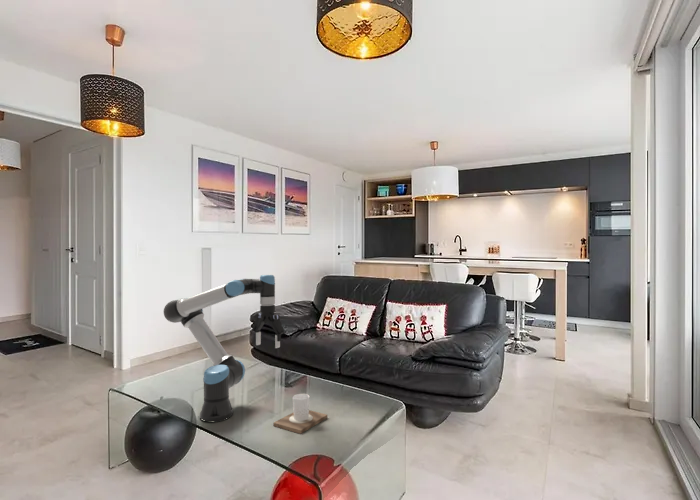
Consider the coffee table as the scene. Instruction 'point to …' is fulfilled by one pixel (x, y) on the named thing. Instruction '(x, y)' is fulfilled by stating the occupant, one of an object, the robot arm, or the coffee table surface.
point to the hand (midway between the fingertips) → (267, 346)
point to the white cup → (301, 407)
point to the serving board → (300, 422)
